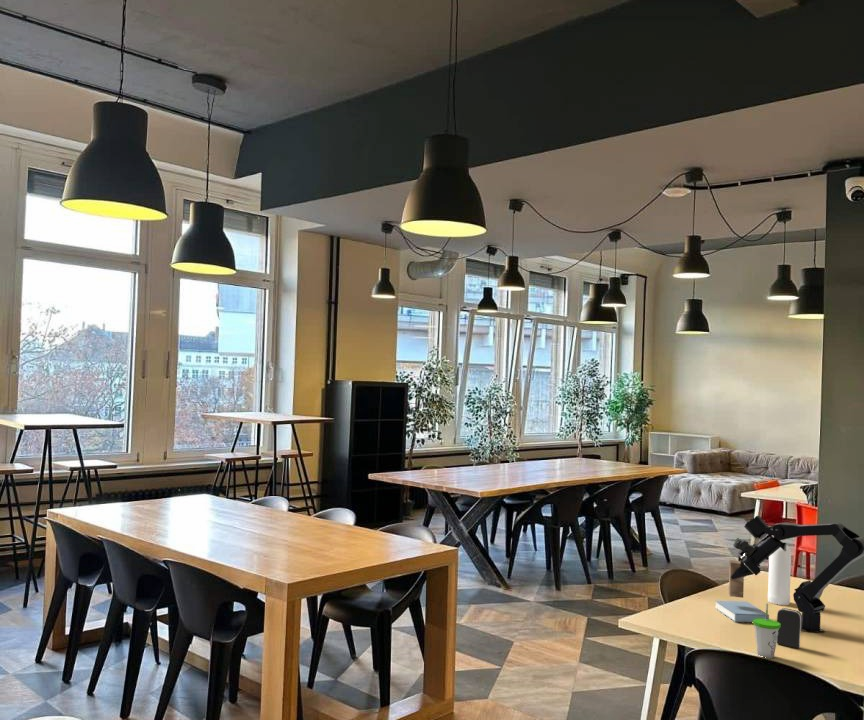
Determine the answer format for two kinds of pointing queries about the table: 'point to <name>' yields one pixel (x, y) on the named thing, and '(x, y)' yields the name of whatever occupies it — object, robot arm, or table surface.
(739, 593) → the brown wooden block
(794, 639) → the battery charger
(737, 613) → the book
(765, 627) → the cup
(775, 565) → the bottle
